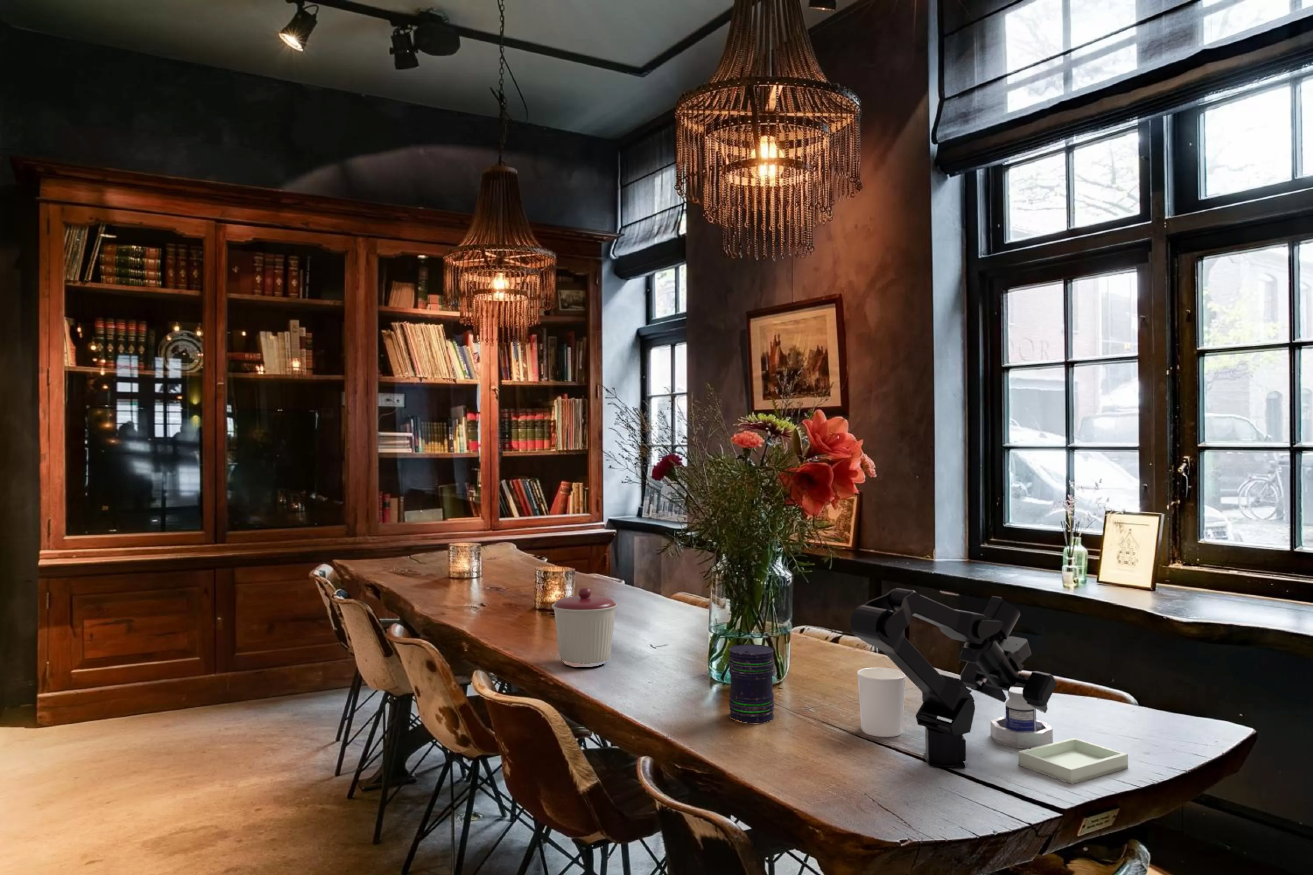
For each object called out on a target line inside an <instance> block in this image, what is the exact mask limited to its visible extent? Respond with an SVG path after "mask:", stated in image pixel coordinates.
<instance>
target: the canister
mask: <svg viewBox="0 0 1313 875" xmlns="http://www.w3.org/2000/svg"><path fill="white" fill-rule="evenodd" d="M577 594H578V595H576V596H575V595H574V596H568V597H563V598H559V599H558V600H556V601H555V602H554V603H552V604H551V608H552V609H553V610H554V621H555V629H556V637H557V638H556V639H557V646H558V653H559V658H560V660H561V659H562V660H563V661H567V662H571V663H580V664H583V663H584V664H590V663H599V662H603V661H607V660H608V659H609V660H610V656H611V652H612V651H611V650H612V643H613V637H614V636H613V635H614V625H615V616H616V608H617V607H618V606H619V604H618V603H617V602H616V601H614V600H613V599H611V598H609V597H606V596H599V595H592V591H591V588H589V587H586V586H585V587H580V588H579V589H578V593H577ZM609 660H608V661H609ZM608 661H607V662H608Z"/></svg>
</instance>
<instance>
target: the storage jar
mask: <svg viewBox="0 0 1313 875" xmlns="http://www.w3.org/2000/svg"><path fill="white" fill-rule="evenodd" d="M728 650H729V651H728V653H729V655H728V656H729V658H728V666H729V667H728V668H729V669H728V672H729V673H728V674H729V675H730V690H729V701H728V705H729V712H730V713H729V718H730V717H731V718H733V719H735V720H739V721H742V722H747V723H762V724H765V723H764V722H767V721H770V720H772V721H774V719H775V714H774V710H775V700H774V699H775V696H774V695H775V693H774V692H773V691H774V690H773V689H774V688H773V687H774V686H773V677H774V675H775V674H774V673H775V670H774V666H775V661H774V648H773V647H771V646H768V645H763V644H755V643H754V644H752V643H751V644H750V643H749V644H748V643H746V644H745V643H744V644H735V645H731V646H730V647H729V649H728ZM773 718H774V719H773ZM770 722H771V721H770Z"/></svg>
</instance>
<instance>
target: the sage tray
mask: <svg viewBox="0 0 1313 875" xmlns="http://www.w3.org/2000/svg"><path fill="white" fill-rule="evenodd" d="M1017 755H1018V758H1017V759H1018V760H1017V761H1018V766H1020V767H1022V766H1023V768H1026V769H1029V770H1031V771H1033V770H1034V772H1037V773H1039V774H1043V775H1045V776H1047V775H1048V777H1050V776H1051V778H1053V777H1054V778H1053V779H1056V778H1058V779H1060V780H1059V781H1061V780H1063V781H1062V782H1064V781H1065V783H1067V782H1068V783H1067V784H1070V783H1071V784H1070V785H1073V784H1072V783H1074V784H1077V782H1078V783H1080V782H1085V781H1088V780H1091V779H1094V778H1098V777H1101V776H1105V775H1109V774H1111V773H1115V772H1118V771H1122V770H1125V769H1128V768H1129V755H1128V753H1127V752H1126V753H1125V752H1122V751H1118V750H1115V749H1113V748H1109V747H1106V746H1102V745H1099V744H1096V743H1093V742H1089V741H1086V740H1083V739H1080V738H1077V737H1071V738H1067V739H1062V740H1059V741H1055V742H1053V743H1051V744H1047V745H1043V746H1039V747H1035V748H1031V749H1029V748H1026V749H1024V750H1019V751H1018V752H1017ZM1058 779H1057V780H1058Z"/></svg>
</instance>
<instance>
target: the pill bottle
mask: <svg viewBox="0 0 1313 875" xmlns="http://www.w3.org/2000/svg"><path fill="white" fill-rule="evenodd" d="M1007 696H1008V699H1006V701H1005V717H1006V728H1007V729H1011V730H1015V731H1029V732H1037V731H1036V720H1037V709H1036V708H1034V707H1032V706H1030V705H1029V704H1027V701H1026V700H1025V699H1024V698H1023V688H1021V687H1017V686H1015V687H1014V686H1013V687H1010V689H1009V691H1007Z"/></svg>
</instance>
